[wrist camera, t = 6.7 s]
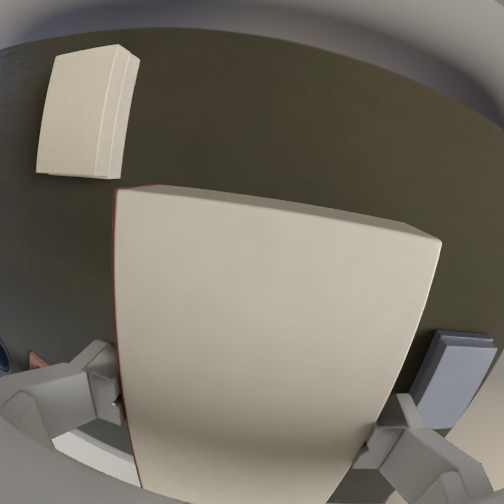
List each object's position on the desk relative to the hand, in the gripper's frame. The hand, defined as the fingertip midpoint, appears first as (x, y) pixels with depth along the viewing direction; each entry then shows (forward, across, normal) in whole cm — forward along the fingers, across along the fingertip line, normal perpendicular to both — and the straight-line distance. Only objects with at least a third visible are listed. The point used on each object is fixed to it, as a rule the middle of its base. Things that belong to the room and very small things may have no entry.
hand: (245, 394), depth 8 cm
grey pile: (+19, -22, +12) cm, 31 cm away
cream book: (+1, 0, 0) cm, 1 cm away
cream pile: (+19, +19, -10) cm, 29 cm away
